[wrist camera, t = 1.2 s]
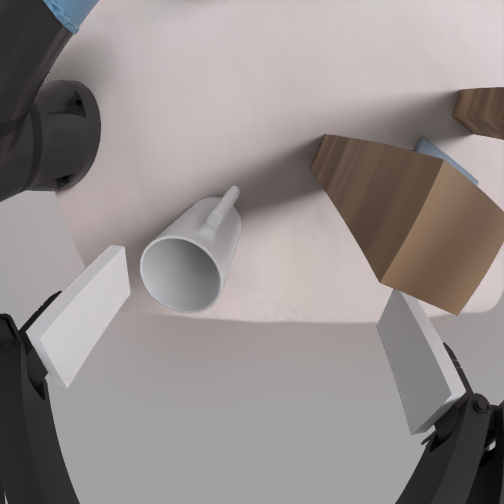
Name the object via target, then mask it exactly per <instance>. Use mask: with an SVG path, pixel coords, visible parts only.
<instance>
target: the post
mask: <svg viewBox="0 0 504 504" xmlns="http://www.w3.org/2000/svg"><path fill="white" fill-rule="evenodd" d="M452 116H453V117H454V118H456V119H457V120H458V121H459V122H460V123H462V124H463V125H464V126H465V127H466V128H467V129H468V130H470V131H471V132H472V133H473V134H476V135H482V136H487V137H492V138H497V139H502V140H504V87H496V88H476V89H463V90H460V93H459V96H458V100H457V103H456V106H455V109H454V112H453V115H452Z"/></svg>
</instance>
